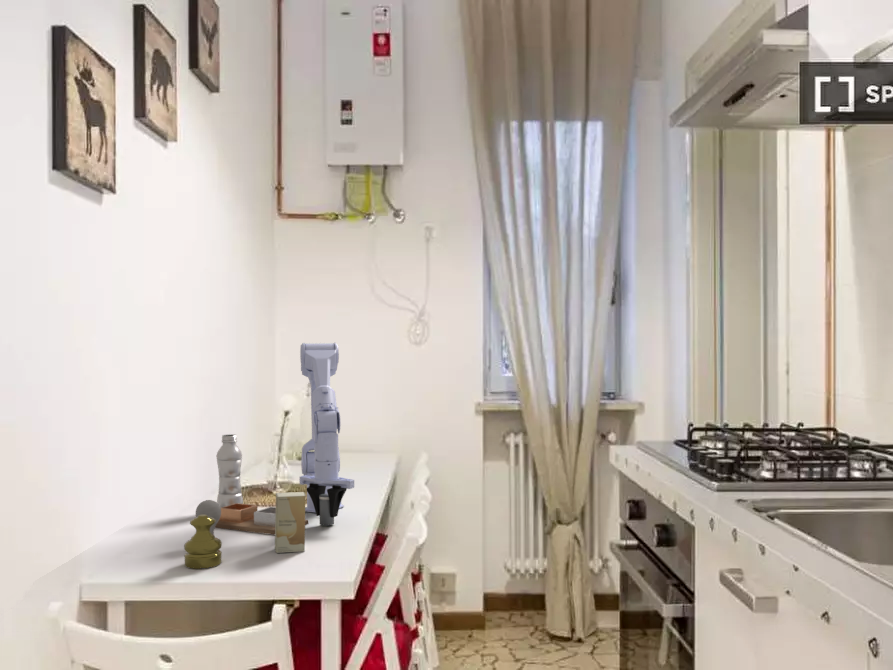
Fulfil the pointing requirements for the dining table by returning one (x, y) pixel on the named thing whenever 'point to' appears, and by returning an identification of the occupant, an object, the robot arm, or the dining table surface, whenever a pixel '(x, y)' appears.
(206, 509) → the light bulb
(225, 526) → the walnut board
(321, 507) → the grey domed cylinder
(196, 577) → the dining table surface
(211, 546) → the gold chess piece
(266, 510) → the steel collar
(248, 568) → the dining table surface
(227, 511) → the copper collar
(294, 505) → the skincare box
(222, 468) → the plastic bottle
